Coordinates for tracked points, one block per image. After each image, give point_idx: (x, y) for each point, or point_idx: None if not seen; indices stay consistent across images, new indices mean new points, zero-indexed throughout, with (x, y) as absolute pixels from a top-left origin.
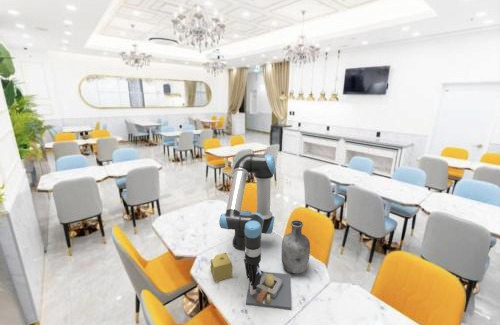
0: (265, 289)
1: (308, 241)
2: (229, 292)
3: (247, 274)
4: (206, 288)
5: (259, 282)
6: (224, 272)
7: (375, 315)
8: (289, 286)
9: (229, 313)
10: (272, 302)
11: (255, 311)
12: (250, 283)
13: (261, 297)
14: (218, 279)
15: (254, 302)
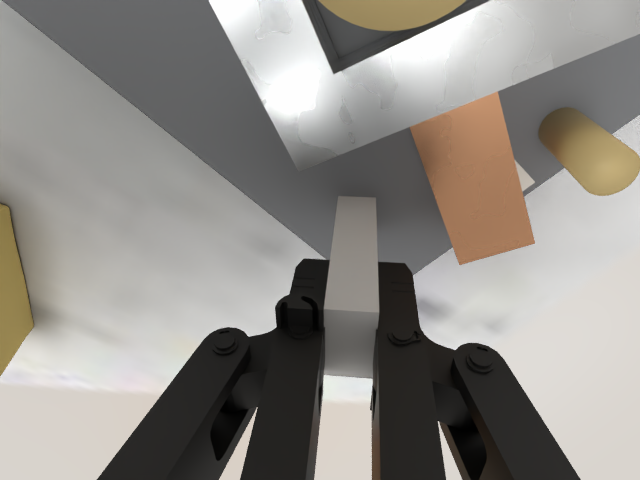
0: (452, 92)
1: None
2: (186, 304)
3: (217, 463)
4: (85, 385)
5: (528, 409)
6: None
7: None
8: None
9: (360, 385)
10: (610, 86)
11: (492, 259)
12: (338, 369)
13: (508, 224)
14: (20, 316)
15: (436, 244)
